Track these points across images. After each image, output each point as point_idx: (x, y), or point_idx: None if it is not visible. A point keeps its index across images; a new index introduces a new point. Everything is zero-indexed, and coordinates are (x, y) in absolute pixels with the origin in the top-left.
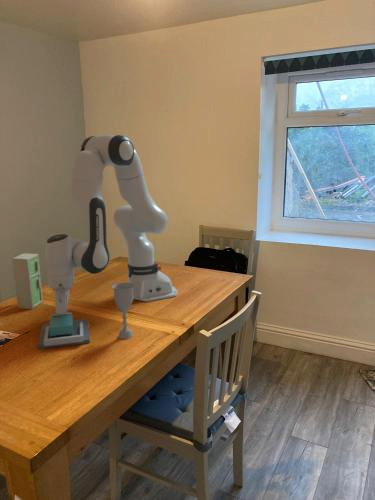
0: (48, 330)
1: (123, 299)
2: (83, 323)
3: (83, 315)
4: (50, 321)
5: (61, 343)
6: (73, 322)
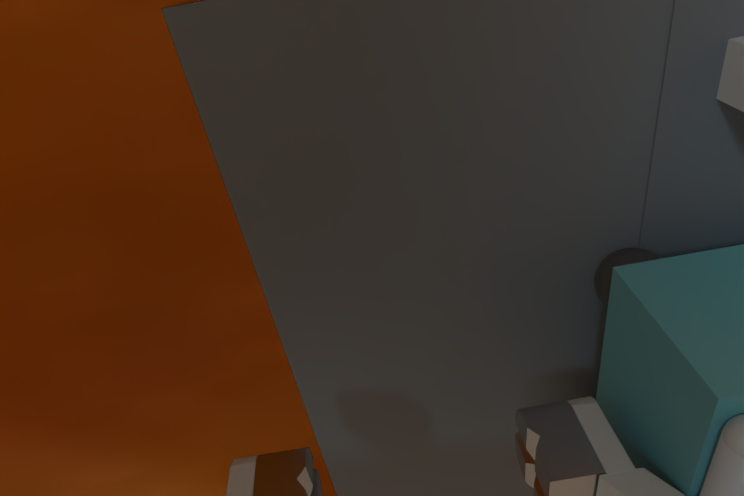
0: None
1: None
2: (534, 57)
3: (4, 139)
4: None
5: None
6: (395, 248)
